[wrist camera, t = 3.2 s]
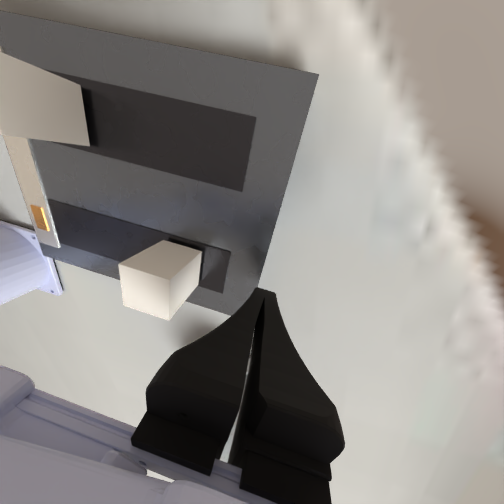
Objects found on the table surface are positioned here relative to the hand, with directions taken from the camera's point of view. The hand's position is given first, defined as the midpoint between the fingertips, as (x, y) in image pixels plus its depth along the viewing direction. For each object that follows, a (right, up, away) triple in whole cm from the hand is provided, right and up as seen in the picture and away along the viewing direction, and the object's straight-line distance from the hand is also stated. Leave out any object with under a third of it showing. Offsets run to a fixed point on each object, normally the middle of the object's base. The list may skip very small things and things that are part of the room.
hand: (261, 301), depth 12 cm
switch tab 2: (-6, +3, +2) cm, 7 cm away
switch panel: (-9, +8, +3) cm, 12 cm away
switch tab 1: (-12, +12, -1) cm, 17 cm away
